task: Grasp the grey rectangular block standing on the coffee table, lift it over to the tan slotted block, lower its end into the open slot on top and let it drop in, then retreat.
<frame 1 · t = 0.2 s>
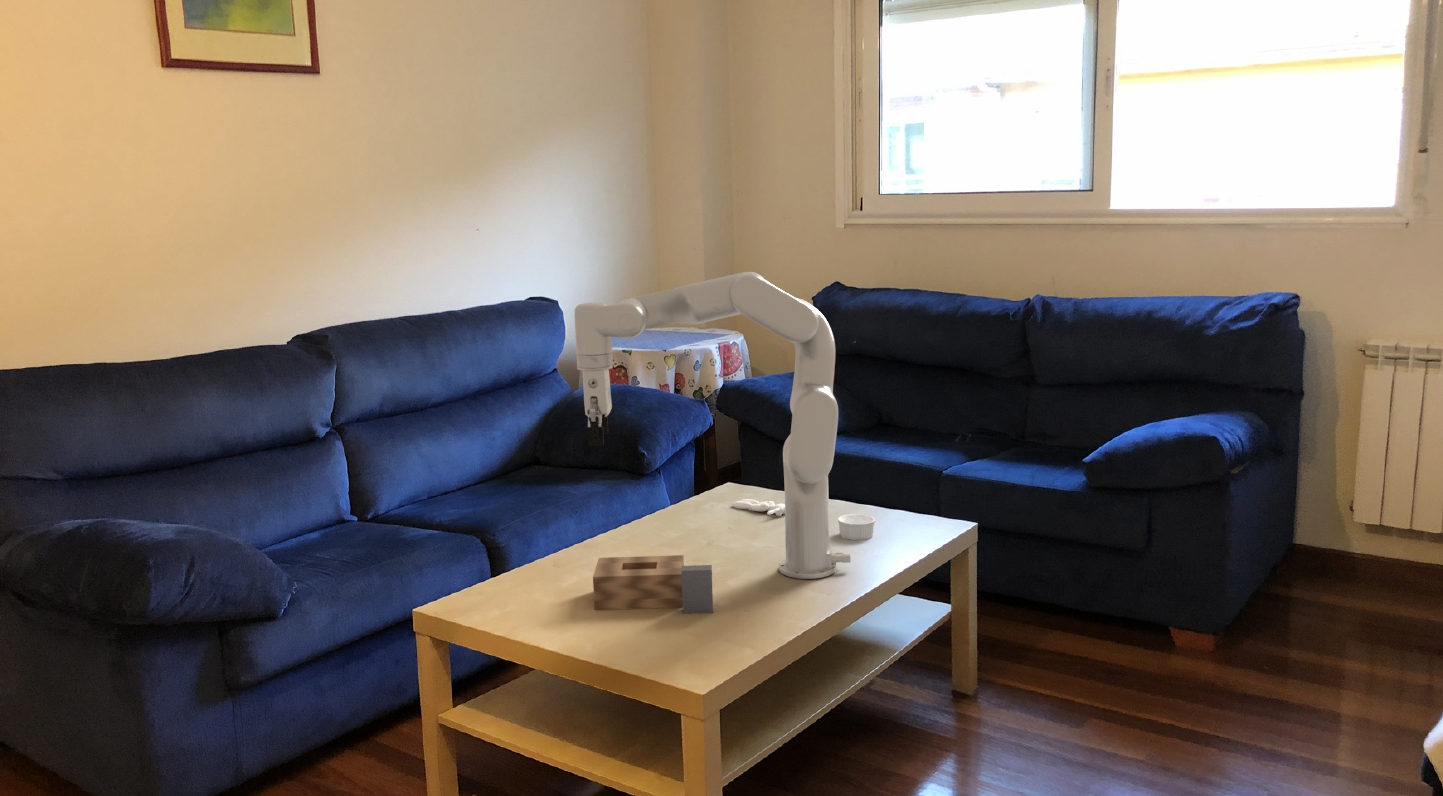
hand: (598, 440, 236), 31 cm above the table, tool pointing down, fingers open, 9 cm apart
decorative figure: (760, 511, 290), on the table
tan slotted block: (640, 597, 229), on the table
ramekin: (856, 536, 266), on the table
grey rectangular block: (698, 610, 221), on the table
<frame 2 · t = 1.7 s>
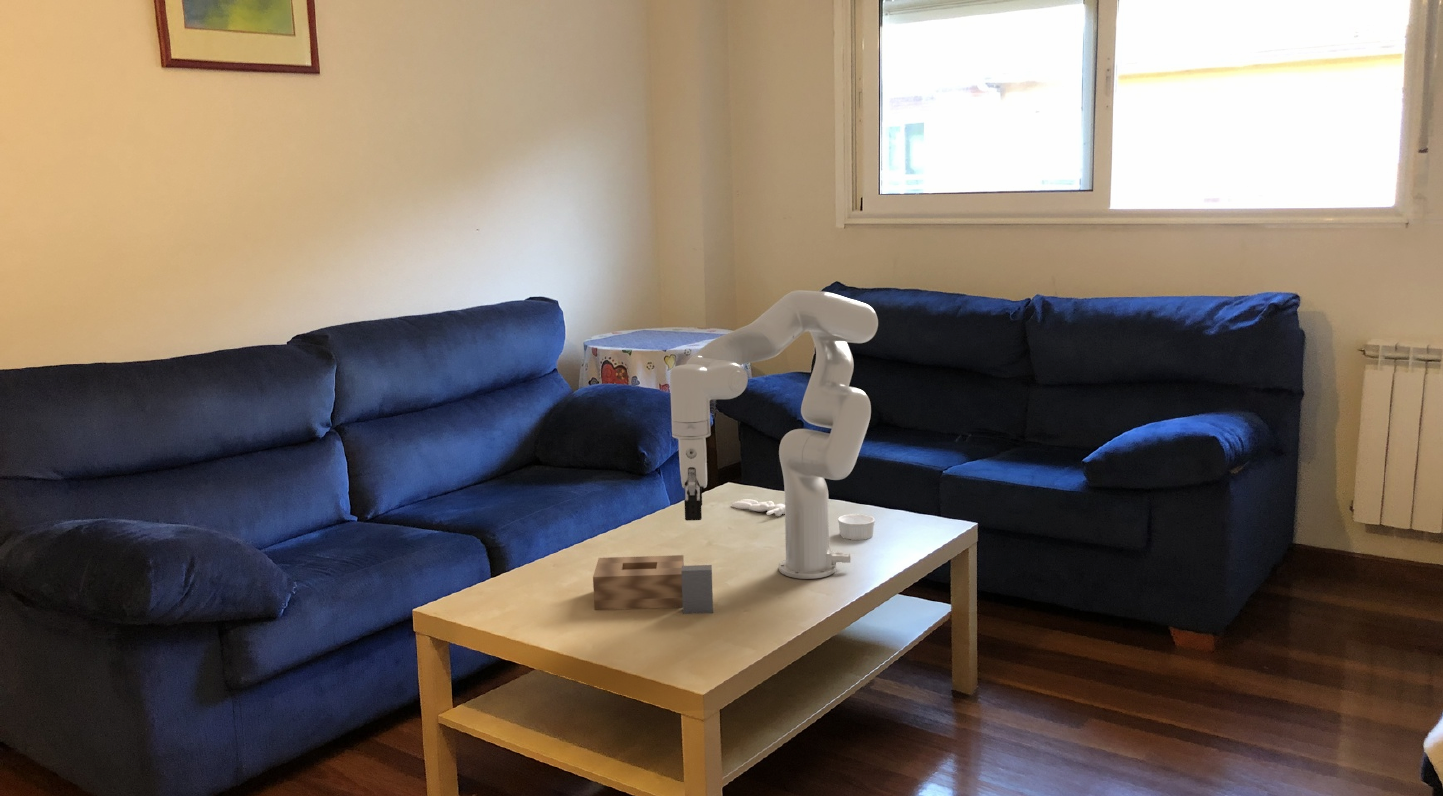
hand: (693, 512, 217), 20 cm above the table, tool pointing down, fingers open, 9 cm apart
nothing on the table moved.
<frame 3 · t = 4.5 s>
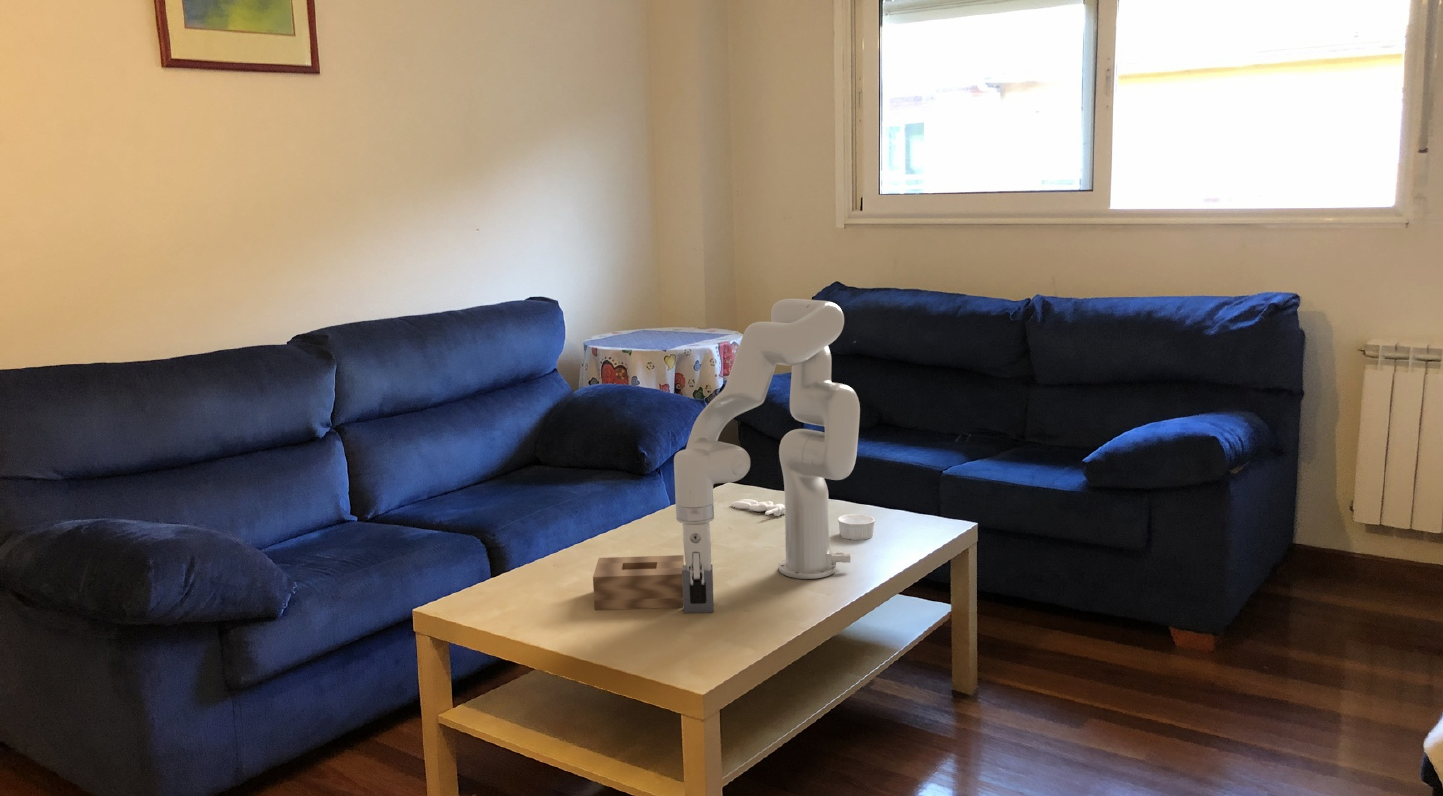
hand: (698, 598, 220), 2 cm above the table, tool pointing down, fingers closed on grey rectangular block, 2 cm apart
grey rectangular block: (698, 609, 221), on the table, touching gripper
everything else where it was.
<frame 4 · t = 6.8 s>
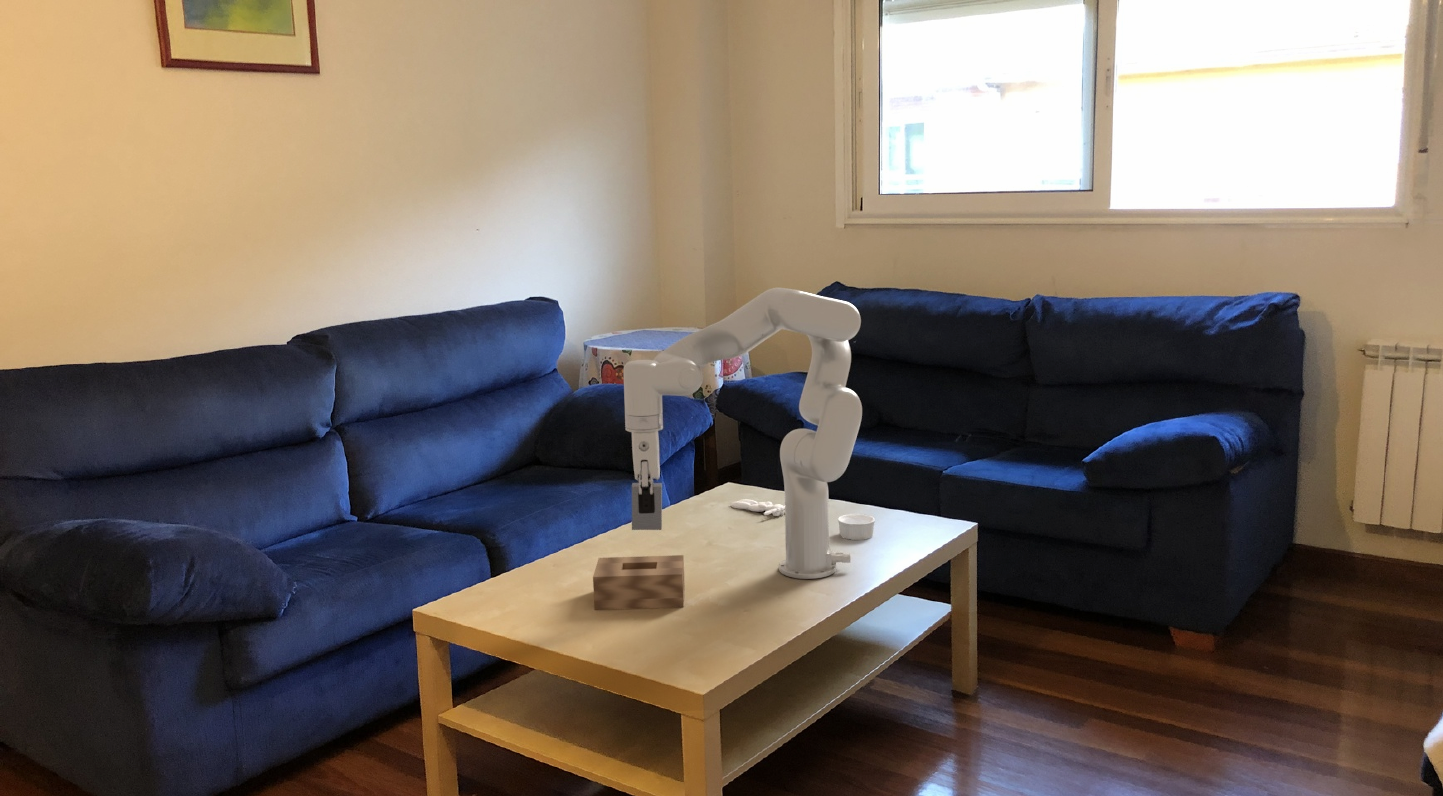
hand: (647, 509, 223), 19 cm above the table, tool pointing down, fingers closed on grey rectangular block, 2 cm apart
grey rectangular block: (646, 527, 224), point 16 cm above the table, touching gripper
everything else where it was.
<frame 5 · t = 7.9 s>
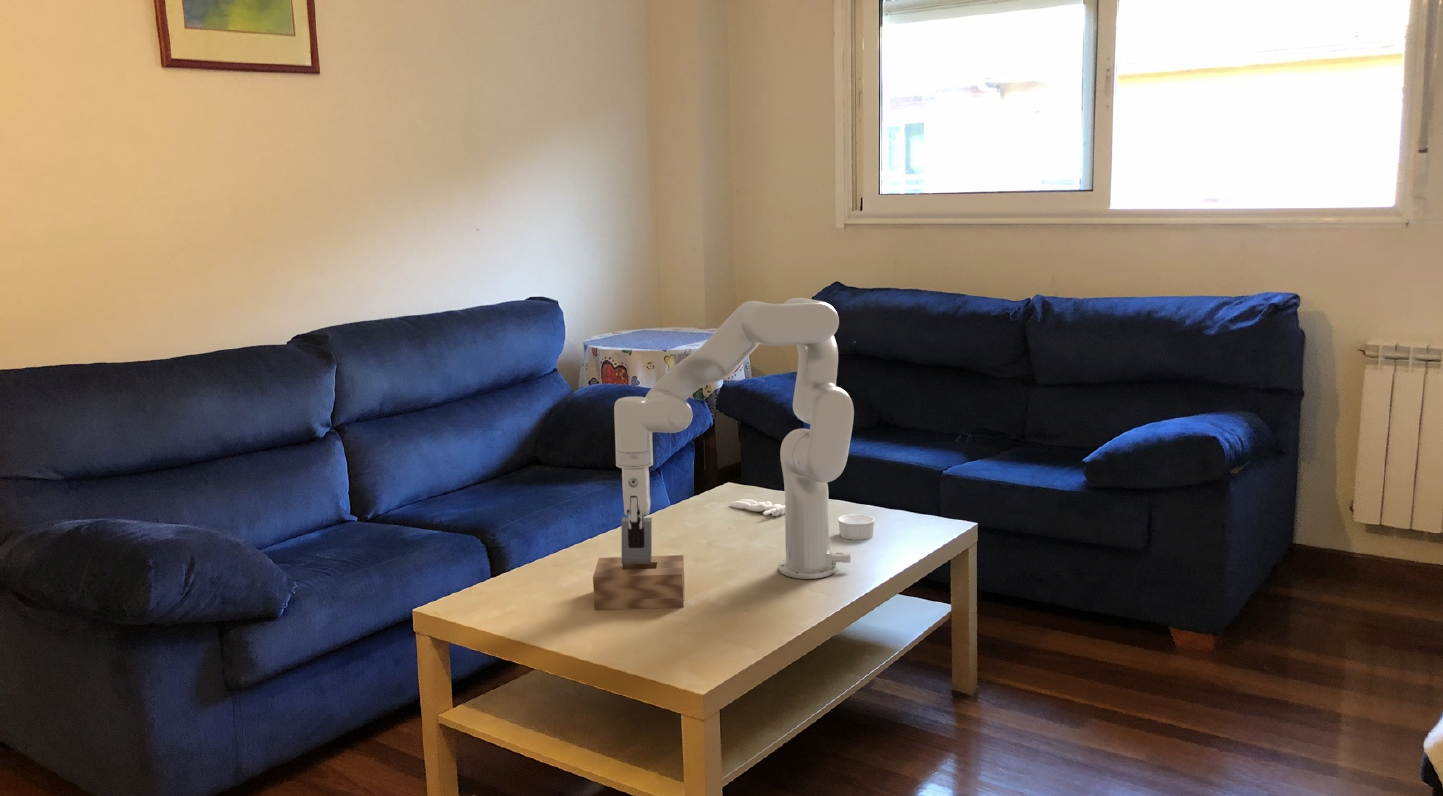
hand: (637, 543, 226), 12 cm above the table, tool pointing down, fingers closed on grey rectangular block, 3 cm apart
grey rectangular block: (636, 561, 227), point 8 cm above the table, touching gripper
everything else where it was.
when the fingers open (8 cm above the table, at t = 8.8 s): grey rectangular block drops 2 cm, resting on tan slotted block.
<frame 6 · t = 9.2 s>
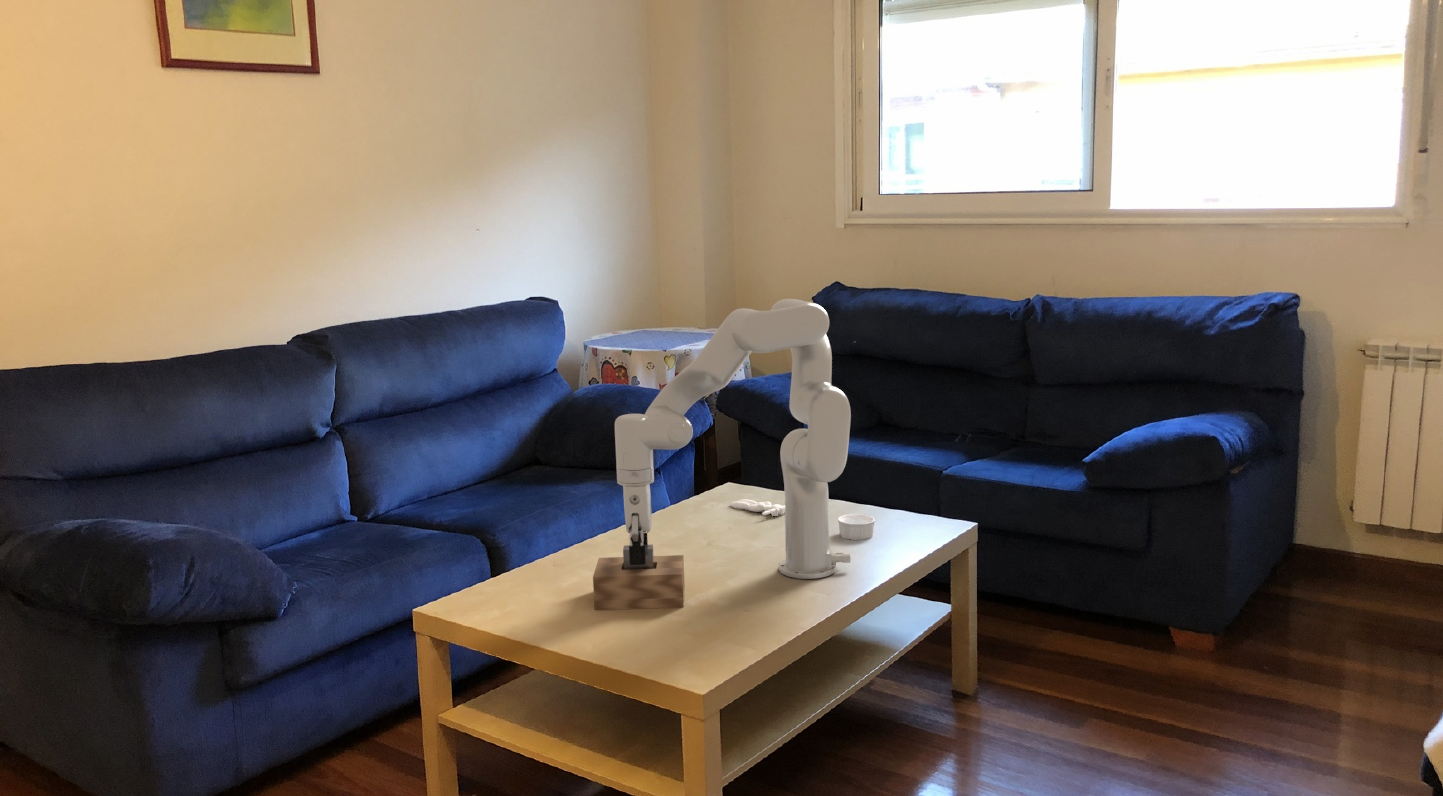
hand: (639, 557, 227), 9 cm above the table, tool pointing down, fingers open, 7 cm apart
grey rectangular block: (639, 588, 228), point 2 cm above the table, touching tan slotted block
everything else where it was.
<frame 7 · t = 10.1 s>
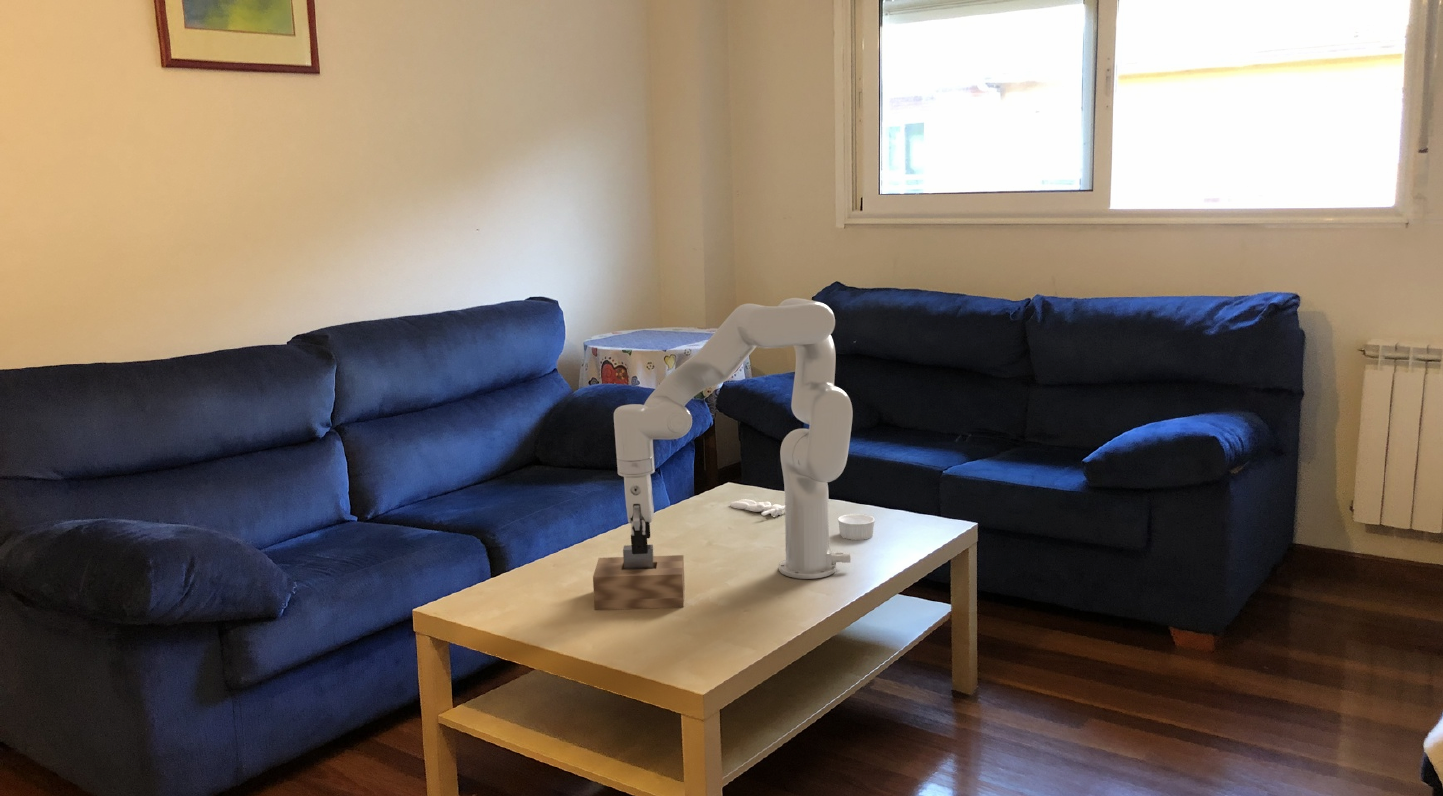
hand: (641, 545, 227), 11 cm above the table, tool pointing down, fingers open, 9 cm apart
nothing on the table moved.
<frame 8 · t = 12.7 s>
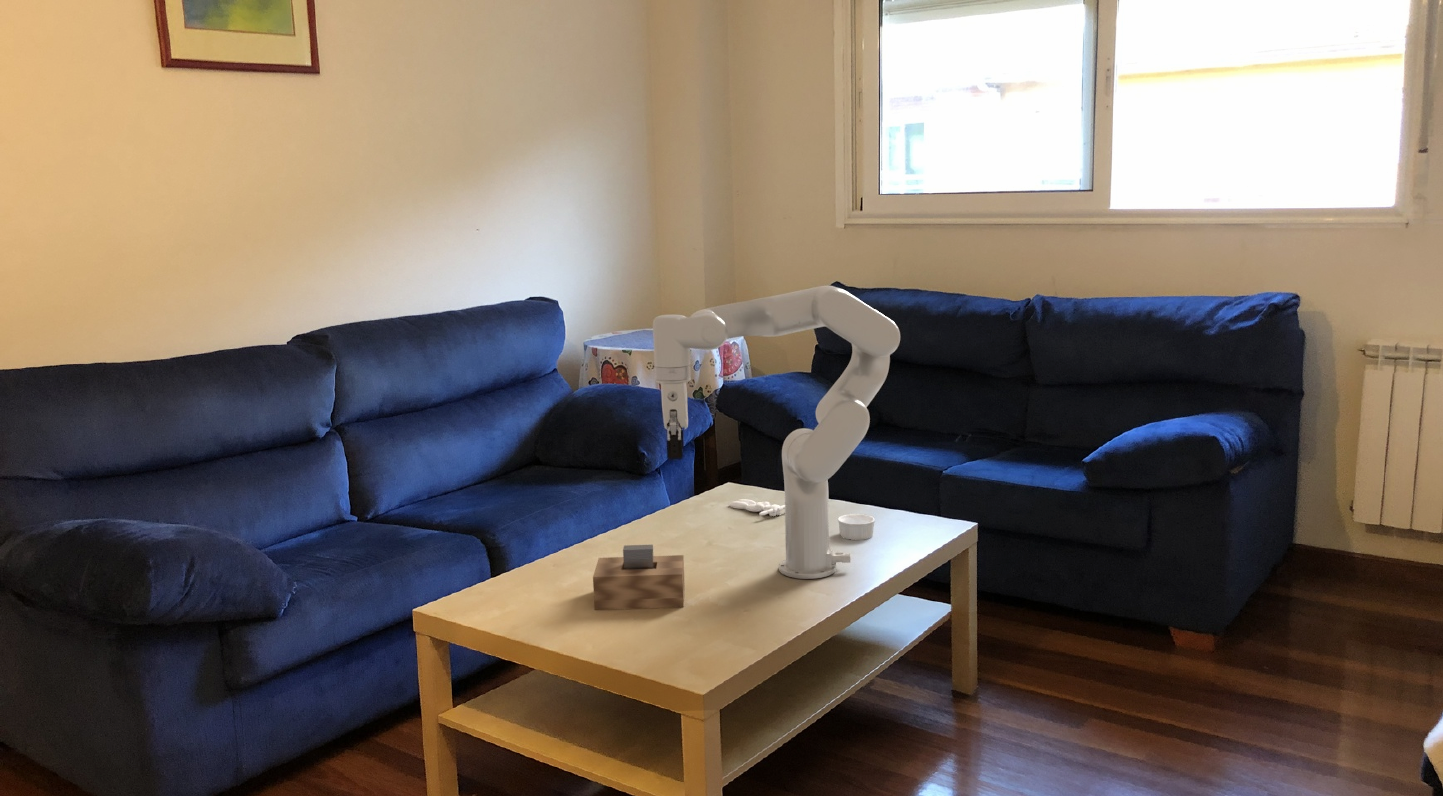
hand: (675, 453, 233), 28 cm above the table, tool pointing down, fingers open, 9 cm apart
at the end: grey rectangular block 0.1 cm off-centre on the tan slotted block, point 2.0 cm above the tan slotted block's base; grey rectangular block tilted 0°; the gripper is holding nothing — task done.
